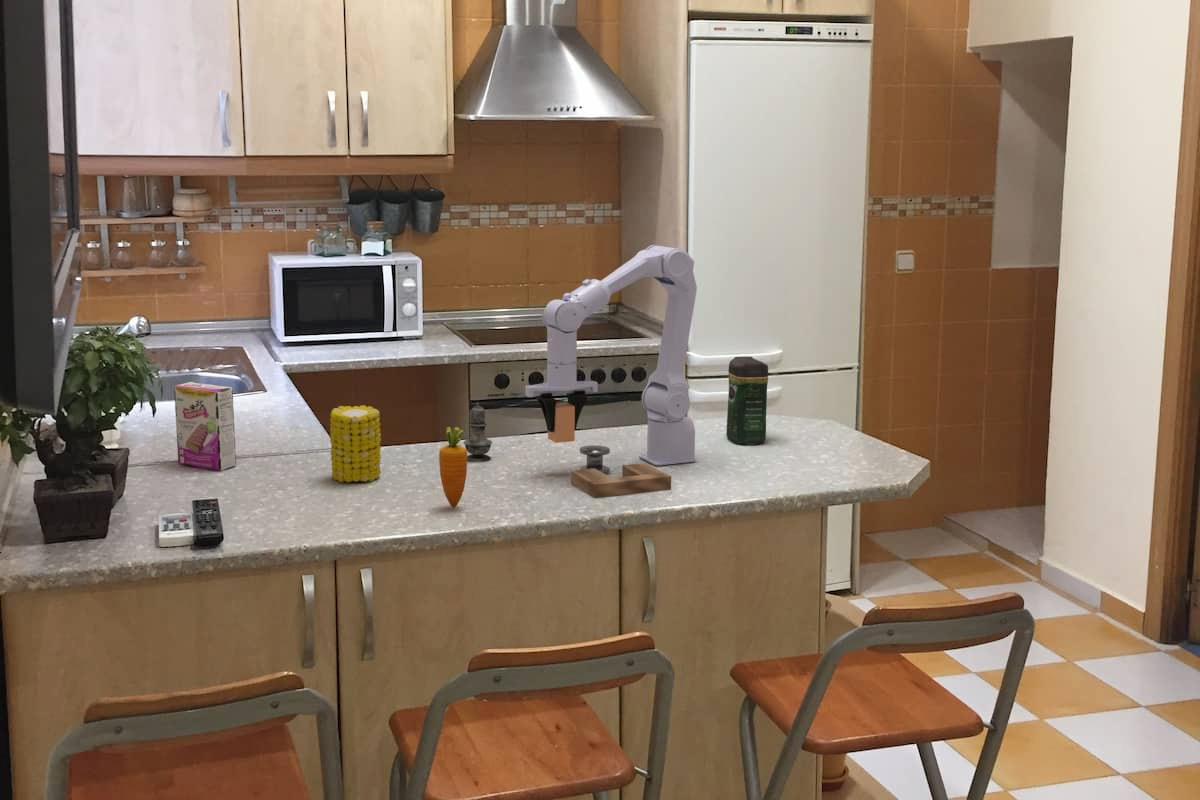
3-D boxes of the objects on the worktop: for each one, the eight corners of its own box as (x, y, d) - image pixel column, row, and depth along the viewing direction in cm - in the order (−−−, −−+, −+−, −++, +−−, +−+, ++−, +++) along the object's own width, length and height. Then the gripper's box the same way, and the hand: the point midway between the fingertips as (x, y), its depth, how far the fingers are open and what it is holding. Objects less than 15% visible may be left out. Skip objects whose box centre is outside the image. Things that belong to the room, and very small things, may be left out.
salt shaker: (487, 463, 268) (487, 405, 265) (460, 461, 269) (459, 404, 266) (495, 456, 273) (495, 399, 271) (468, 454, 274) (468, 398, 272)
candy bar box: (176, 465, 263) (172, 385, 260) (194, 460, 267) (189, 381, 264) (220, 472, 258) (216, 390, 255) (237, 466, 263) (233, 386, 259)
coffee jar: (770, 444, 286) (773, 361, 282) (735, 446, 284) (738, 362, 280) (755, 435, 295) (758, 353, 291) (722, 436, 293) (724, 354, 290)
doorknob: (601, 466, 266) (602, 444, 265) (614, 473, 261) (614, 450, 260) (574, 469, 263) (574, 446, 263) (587, 476, 258) (587, 453, 257)
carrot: (440, 503, 238) (439, 423, 235) (467, 503, 239) (467, 423, 236) (439, 511, 233) (438, 429, 230) (467, 511, 234) (466, 429, 231)
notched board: (645, 475, 260) (645, 462, 259) (671, 488, 250) (671, 476, 249) (570, 483, 253) (570, 470, 252) (594, 497, 243) (594, 484, 243)
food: (377, 478, 261) (377, 494, 251) (318, 467, 258) (316, 483, 249) (393, 406, 258) (394, 419, 248) (333, 394, 255) (332, 407, 245)
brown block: (566, 436, 261) (566, 402, 260) (574, 441, 258) (574, 406, 256) (548, 438, 259) (548, 403, 258) (555, 442, 256) (555, 407, 254)
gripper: (587, 356, 262) (587, 422, 264) (519, 360, 256) (519, 428, 259) (602, 362, 255) (601, 430, 258) (532, 366, 250) (532, 436, 252)
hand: (561, 430), depth 258 cm, fingers closed on brown block, 4 cm apart
